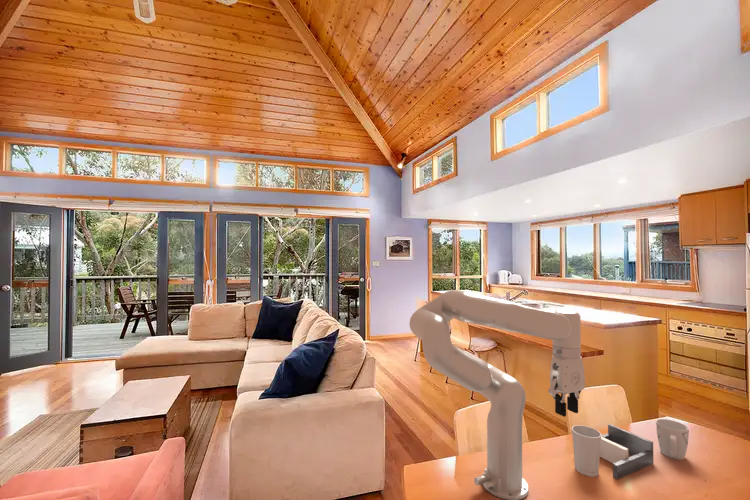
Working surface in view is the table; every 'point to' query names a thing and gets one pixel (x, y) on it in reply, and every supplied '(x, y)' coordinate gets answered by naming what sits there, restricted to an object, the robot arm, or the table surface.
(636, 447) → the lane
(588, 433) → the cup
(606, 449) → the pusher plate
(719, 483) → the table surface
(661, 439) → the mug
